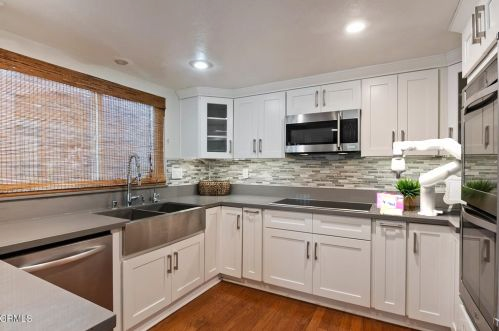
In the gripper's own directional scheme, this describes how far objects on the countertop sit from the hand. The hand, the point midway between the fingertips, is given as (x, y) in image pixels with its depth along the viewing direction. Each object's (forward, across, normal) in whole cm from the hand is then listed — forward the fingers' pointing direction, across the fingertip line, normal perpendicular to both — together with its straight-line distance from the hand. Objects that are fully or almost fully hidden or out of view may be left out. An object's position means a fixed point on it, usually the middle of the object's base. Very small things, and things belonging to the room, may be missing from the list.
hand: (398, 178), depth 220 cm
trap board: (+27, +4, +9) cm, 29 cm away
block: (+24, +9, +12) cm, 28 cm away
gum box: (+27, +7, -8) cm, 29 cm away
